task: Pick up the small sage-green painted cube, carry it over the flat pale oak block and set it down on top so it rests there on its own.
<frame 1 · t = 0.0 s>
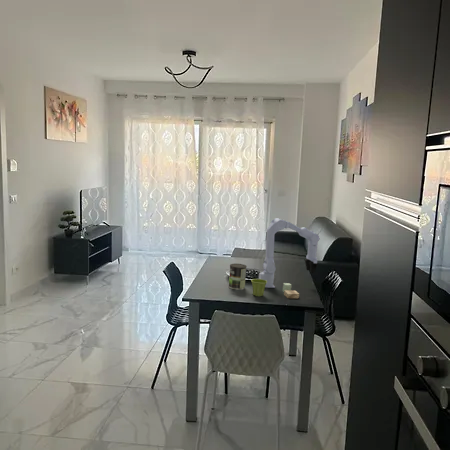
hand: (310, 271, 279), 10 cm above the table, tool pointing down, fingers open, 7 cm apart
plant pot: (258, 295, 255), on the table
oak block: (291, 297, 257), on the table
coffee can: (236, 287, 268), on the table
sage cube: (286, 291, 265), on the table
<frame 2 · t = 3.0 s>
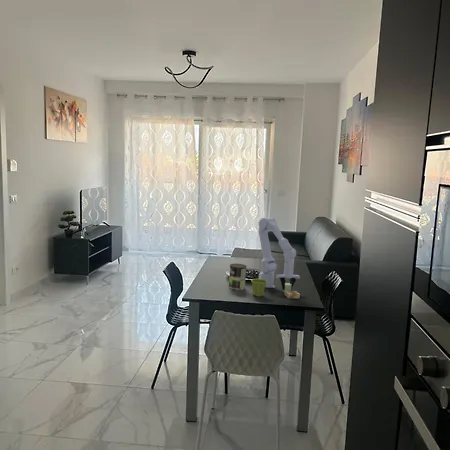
hand: (286, 289, 265), 1 cm above the table, tool pointing down, fingers closed on sage cube, 4 cm apart
sage cube: (286, 291, 265), on the table, touching gripper
everything else where it was.
when the fingers open (6 cm above the table, at t = 5.8 s): sage cube stays where it is, resting on oak block.
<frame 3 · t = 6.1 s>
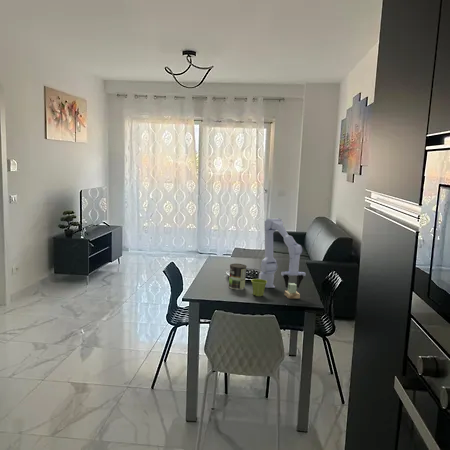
hand: (292, 287, 256), 6 cm above the table, tool pointing down, fingers open, 6 cm apart
oak block: (291, 297, 256), on the table, touching sage cube
sage cube: (291, 292, 256), point 3 cm above the table, touching oak block
everything else where it was.
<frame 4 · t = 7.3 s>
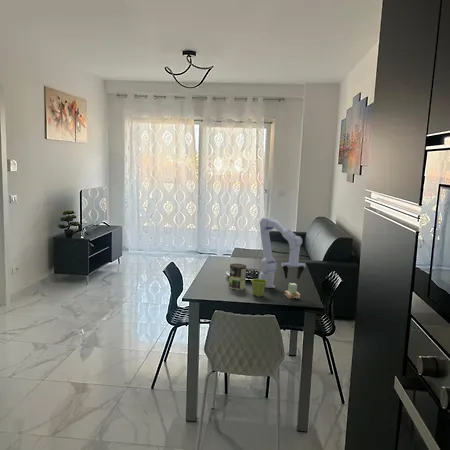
hand: (292, 278, 258), 10 cm above the table, tool pointing down, fingers open, 7 cm apart
nothing on the table moved.
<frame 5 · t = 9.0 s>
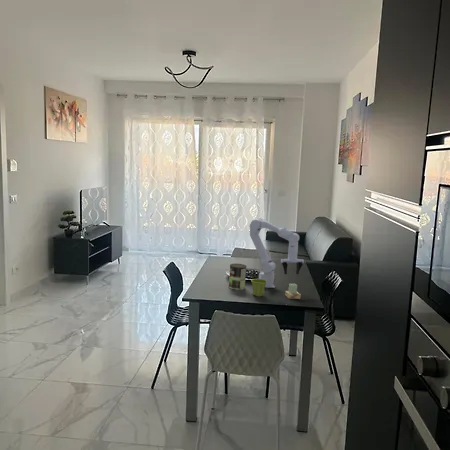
hand: (291, 274, 268), 10 cm above the table, tool pointing down, fingers open, 7 cm apart
nothing on the table moved.
at the end: sage cube 0.3 cm off-centre on the oak block, point 3.0 cm above the oak block's base; sage cube tilted 0°; the gripper is holding nothing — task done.
